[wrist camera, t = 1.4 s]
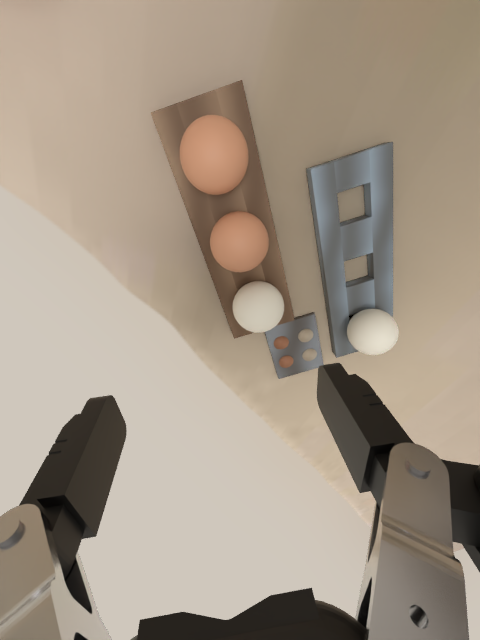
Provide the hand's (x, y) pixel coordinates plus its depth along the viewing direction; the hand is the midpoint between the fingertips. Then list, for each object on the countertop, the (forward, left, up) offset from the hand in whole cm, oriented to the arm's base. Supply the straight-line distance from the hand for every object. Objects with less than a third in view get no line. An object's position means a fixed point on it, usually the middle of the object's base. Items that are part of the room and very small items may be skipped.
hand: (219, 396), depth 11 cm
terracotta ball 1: (-3, -8, -18) cm, 20 cm away
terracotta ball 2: (-3, -2, -18) cm, 18 cm away
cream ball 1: (-3, +5, -18) cm, 19 cm away
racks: (-8, +2, -19) cm, 20 cm away
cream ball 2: (-14, +12, -18) cm, 26 cm away
